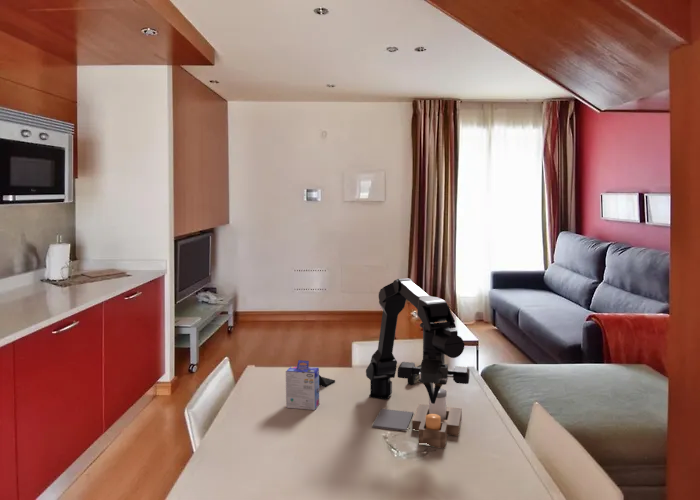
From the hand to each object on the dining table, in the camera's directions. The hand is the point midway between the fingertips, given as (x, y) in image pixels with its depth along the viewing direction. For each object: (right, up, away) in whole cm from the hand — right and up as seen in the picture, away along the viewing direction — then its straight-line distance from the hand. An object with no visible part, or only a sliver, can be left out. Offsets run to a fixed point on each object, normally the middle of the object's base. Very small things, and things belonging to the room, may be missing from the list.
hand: (433, 403), depth 136 cm
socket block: (+2, -10, +8) cm, 13 cm away
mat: (-10, -10, +14) cm, 20 cm away
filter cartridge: (+3, -10, +12) cm, 15 cm away
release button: (0, -8, +1) cm, 8 cm away
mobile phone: (+3, -6, +49) cm, 49 cm away
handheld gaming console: (-35, -7, +45) cm, 58 cm away
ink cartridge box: (-38, -9, +25) cm, 46 cm away
